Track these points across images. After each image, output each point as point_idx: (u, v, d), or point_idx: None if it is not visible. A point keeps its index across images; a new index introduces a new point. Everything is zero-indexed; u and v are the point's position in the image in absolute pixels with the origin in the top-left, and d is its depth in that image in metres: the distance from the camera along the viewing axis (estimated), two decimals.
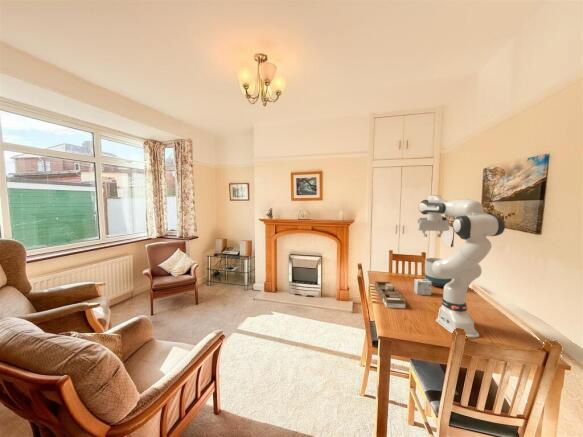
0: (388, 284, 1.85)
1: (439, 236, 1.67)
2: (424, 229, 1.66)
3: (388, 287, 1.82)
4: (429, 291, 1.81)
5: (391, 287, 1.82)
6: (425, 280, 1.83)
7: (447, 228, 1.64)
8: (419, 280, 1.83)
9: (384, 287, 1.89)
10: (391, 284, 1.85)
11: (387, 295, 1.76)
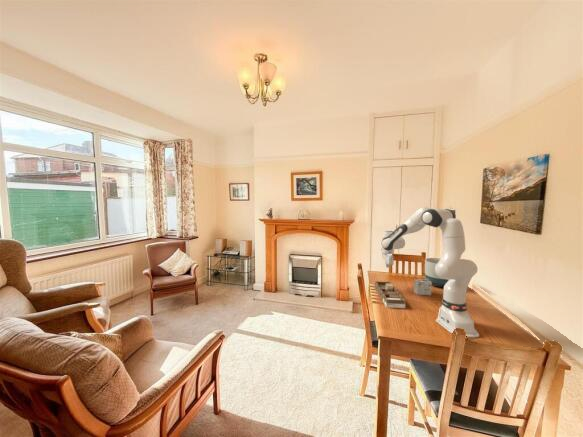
0: (388, 284, 1.85)
1: None
2: None
3: (388, 287, 1.82)
4: (429, 291, 1.81)
5: (391, 287, 1.82)
6: (425, 280, 1.83)
7: None
8: (419, 280, 1.83)
9: (384, 287, 1.89)
10: (391, 284, 1.85)
11: (387, 295, 1.76)
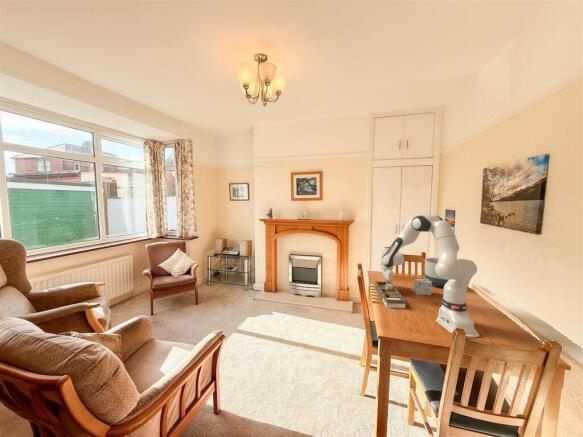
0: (388, 284, 1.85)
1: (387, 281, 1.92)
2: None
3: (388, 287, 1.82)
4: (429, 291, 1.81)
5: (391, 287, 1.82)
6: (425, 280, 1.83)
7: None
8: (419, 280, 1.83)
9: (384, 287, 1.89)
10: (391, 284, 1.85)
11: (387, 295, 1.76)
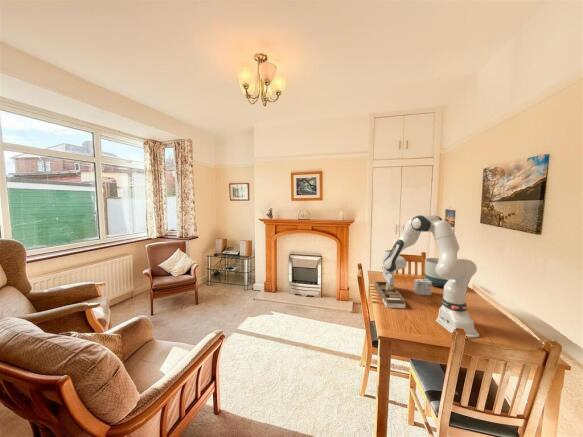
0: (388, 284, 1.84)
1: None
2: None
3: (388, 287, 1.81)
4: (429, 291, 1.81)
5: (391, 287, 1.81)
6: (425, 280, 1.83)
7: None
8: (419, 280, 1.83)
9: (384, 287, 1.89)
10: None
11: (387, 295, 1.76)
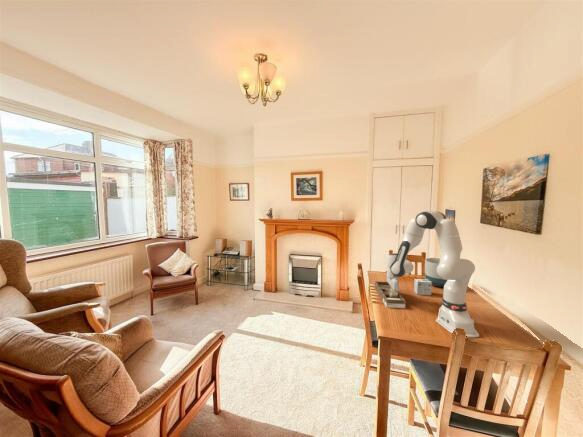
0: (392, 290, 1.73)
1: None
2: None
3: (392, 293, 1.70)
4: (429, 291, 1.81)
5: (396, 293, 1.70)
6: (425, 280, 1.83)
7: None
8: (419, 280, 1.83)
9: (384, 287, 1.89)
10: None
11: (387, 295, 1.76)
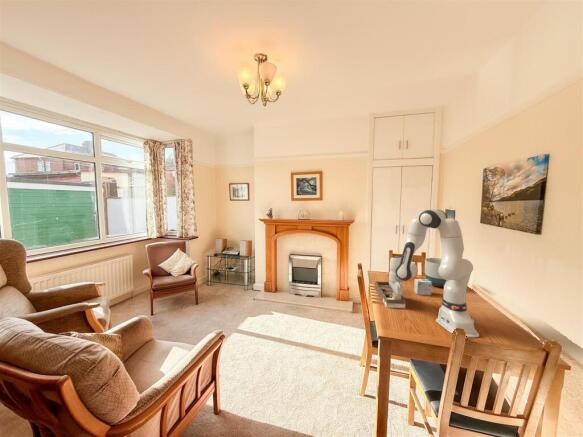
0: (395, 294, 1.66)
1: None
2: None
3: (395, 297, 1.63)
4: (429, 291, 1.81)
5: (399, 297, 1.63)
6: (425, 280, 1.83)
7: None
8: (419, 280, 1.83)
9: (384, 287, 1.89)
10: None
11: (387, 295, 1.76)
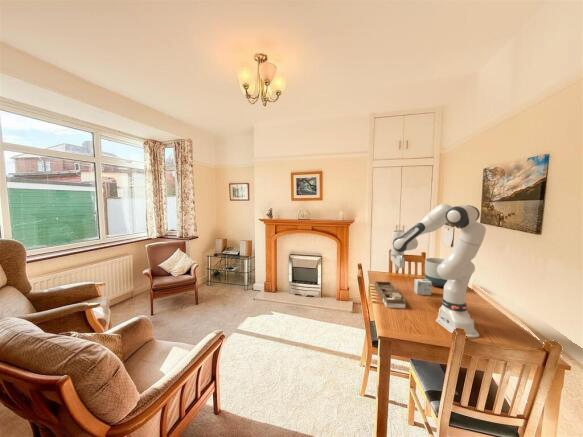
0: (395, 294, 1.66)
1: None
2: None
3: (395, 297, 1.63)
4: (429, 291, 1.81)
5: (399, 298, 1.63)
6: (425, 280, 1.83)
7: None
8: (419, 280, 1.83)
9: (384, 287, 1.89)
10: (398, 294, 1.66)
11: (387, 295, 1.76)
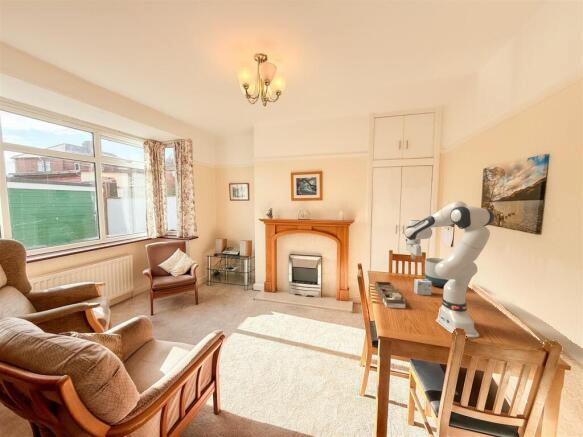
0: (395, 294, 1.66)
1: None
2: None
3: (395, 297, 1.63)
4: (429, 291, 1.81)
5: (399, 298, 1.63)
6: (425, 280, 1.83)
7: None
8: (419, 280, 1.83)
9: (384, 287, 1.89)
10: (398, 294, 1.66)
11: (387, 295, 1.76)
